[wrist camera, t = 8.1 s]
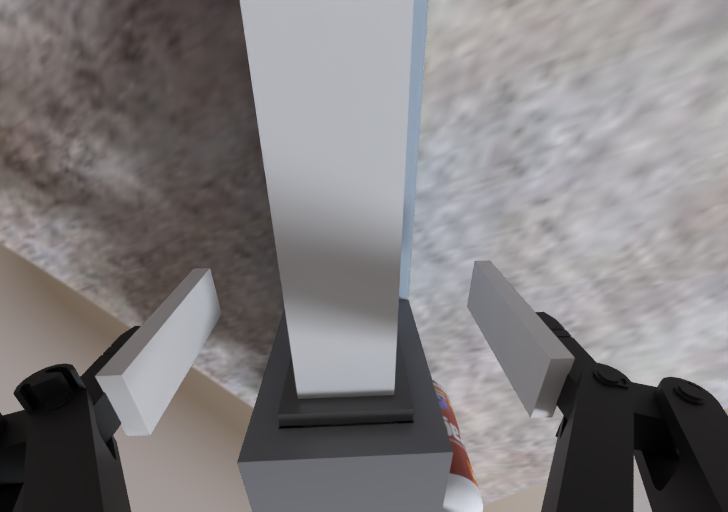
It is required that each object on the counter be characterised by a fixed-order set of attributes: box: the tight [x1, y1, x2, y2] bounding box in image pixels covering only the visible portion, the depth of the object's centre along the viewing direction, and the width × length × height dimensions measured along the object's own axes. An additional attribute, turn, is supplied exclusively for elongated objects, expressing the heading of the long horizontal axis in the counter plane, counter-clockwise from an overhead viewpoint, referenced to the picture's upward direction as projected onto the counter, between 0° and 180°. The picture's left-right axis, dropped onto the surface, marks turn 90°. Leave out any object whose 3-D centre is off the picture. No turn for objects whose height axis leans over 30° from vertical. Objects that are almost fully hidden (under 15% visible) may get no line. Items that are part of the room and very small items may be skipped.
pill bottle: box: [433, 382, 483, 512], centre depth 22 cm, size 6×6×11 cm
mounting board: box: [399, 0, 428, 300], centre depth 17 cm, size 32×8×1 cm, turn 0°
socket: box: [237, 300, 453, 512], centre depth 17 cm, size 6×8×10 cm
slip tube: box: [240, 0, 414, 428], centre depth 12 cm, size 24×5×5 cm, turn 0°
